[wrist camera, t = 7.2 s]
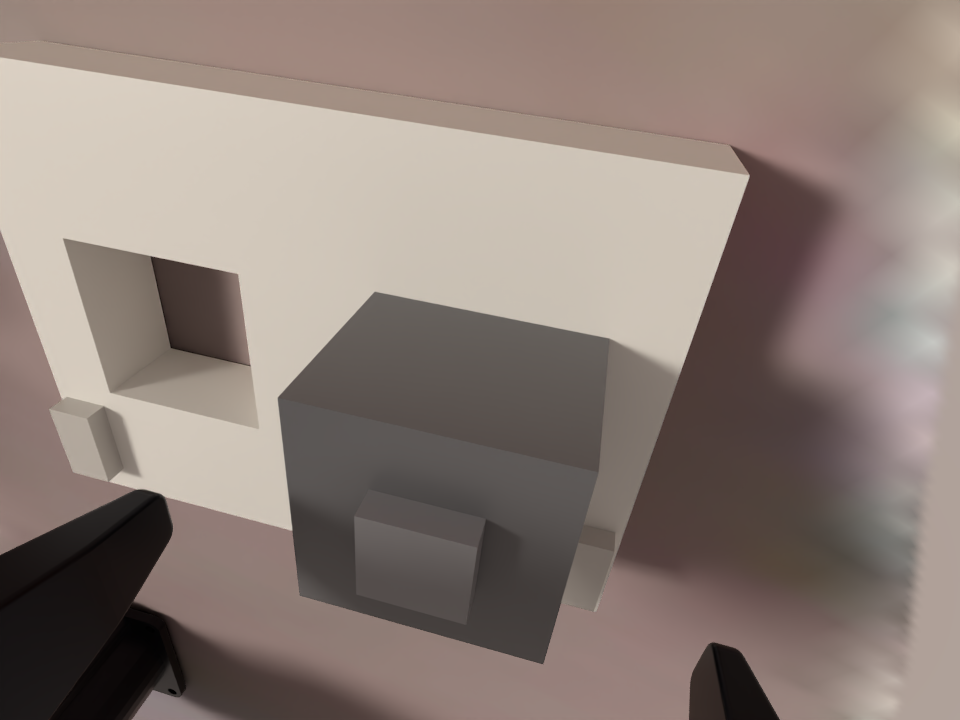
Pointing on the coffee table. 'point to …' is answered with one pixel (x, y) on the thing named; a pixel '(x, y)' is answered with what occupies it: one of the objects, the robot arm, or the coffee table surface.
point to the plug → (445, 469)
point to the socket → (332, 255)
